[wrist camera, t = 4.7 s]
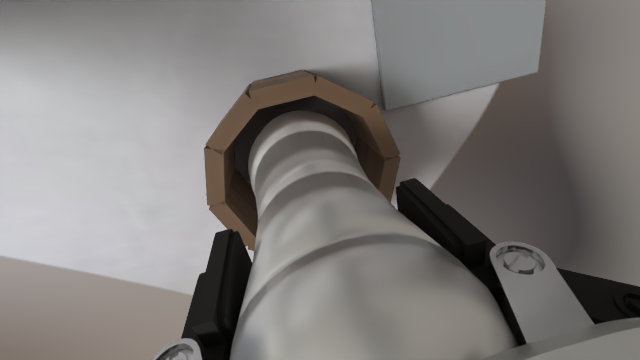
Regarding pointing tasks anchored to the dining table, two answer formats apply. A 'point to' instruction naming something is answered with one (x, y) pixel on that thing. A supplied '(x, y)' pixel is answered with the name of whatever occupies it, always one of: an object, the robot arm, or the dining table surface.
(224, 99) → the dining table surface
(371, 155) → the ring holder
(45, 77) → the dining table surface
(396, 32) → the rubber mat
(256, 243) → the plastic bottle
